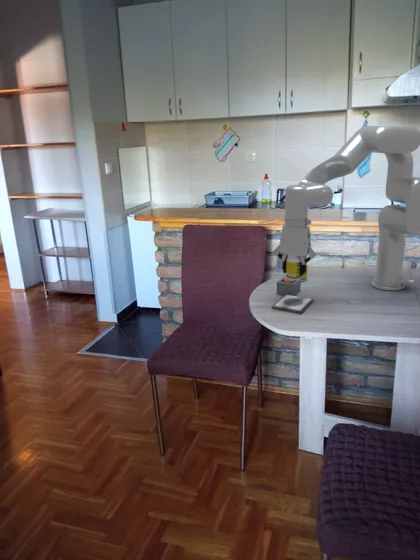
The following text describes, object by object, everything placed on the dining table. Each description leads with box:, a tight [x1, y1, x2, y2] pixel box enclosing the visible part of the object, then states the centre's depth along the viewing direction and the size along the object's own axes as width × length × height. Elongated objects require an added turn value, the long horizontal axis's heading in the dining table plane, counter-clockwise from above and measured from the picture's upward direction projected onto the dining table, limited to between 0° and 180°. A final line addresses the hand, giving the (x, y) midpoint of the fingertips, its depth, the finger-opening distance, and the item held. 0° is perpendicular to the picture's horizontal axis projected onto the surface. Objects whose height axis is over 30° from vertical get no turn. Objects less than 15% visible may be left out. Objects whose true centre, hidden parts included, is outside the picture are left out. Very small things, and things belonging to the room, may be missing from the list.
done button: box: [283, 274, 294, 283], centre depth 173 cm, size 4×4×3 cm
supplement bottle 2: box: [301, 262, 308, 283], centre depth 187 cm, size 5×5×10 cm
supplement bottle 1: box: [285, 255, 302, 280], centre depth 158 cm, size 5×5×10 cm
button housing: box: [276, 276, 302, 296], centre depth 174 cm, size 7×7×5 cm
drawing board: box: [271, 294, 315, 315], centre depth 163 cm, size 11×13×1 cm
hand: (293, 272), depth 159 cm, fingers closed on supplement bottle 1, 5 cm apart
